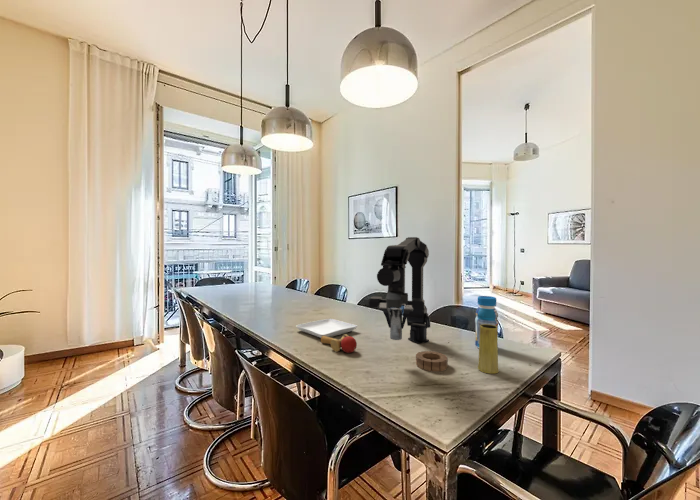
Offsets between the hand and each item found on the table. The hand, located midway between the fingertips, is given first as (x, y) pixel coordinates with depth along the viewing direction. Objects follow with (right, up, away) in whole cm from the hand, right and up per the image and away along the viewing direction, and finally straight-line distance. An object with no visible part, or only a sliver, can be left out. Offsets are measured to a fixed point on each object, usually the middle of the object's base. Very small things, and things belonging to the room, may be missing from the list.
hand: (396, 327), depth 104 cm
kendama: (-21, -12, +14) cm, 28 cm away
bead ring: (+12, -12, -2) cm, 17 cm away
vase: (+29, -12, -6) cm, 32 cm away
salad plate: (-27, -12, +37) cm, 47 cm away
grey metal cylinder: (0, -4, 0) cm, 4 cm away
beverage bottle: (+38, -12, +16) cm, 43 cm away
